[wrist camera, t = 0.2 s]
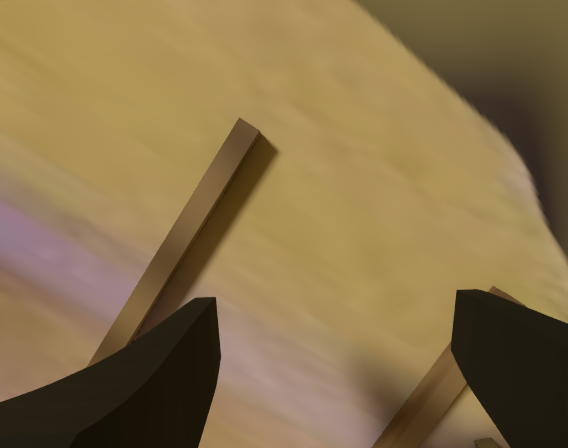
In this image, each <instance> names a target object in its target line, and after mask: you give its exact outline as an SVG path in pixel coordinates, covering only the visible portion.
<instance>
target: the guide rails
mask: <svg viewBox="0 0 568 448" xmlns="http://www.w3.org/2000/svg"><path fill="white" fill-rule="evenodd" d="M260 135H261V132H260V131H259V130H258V129H256V128H255V127H253V126H252V125H250V124H249V123H247V122H246V121H244V120H243V119H241V118H239V119H238V121H237V122H236V124H235V125H234V127H233V129H232V130H231V132H230V134H229V135H228V137H227V138H226V140H225V142H224V143H223V145H222V147H221V148H220V150H219V152H218V153H217V155H216V156H215V158H214V160H213V161H212V163H211V165H210V166H209V168H208V170H207V171H206V173H205V174H204V176H203V178H202V179H201V181H200V183H199V184H198V186H197V188H196V189H195V191H194V192H193V194H192V196H191V197H190V199H189V201H188V202H187V204H186V206H185V207H184V209H183V210H182V212H181V214H180V215H179V217H178V219H177V220H176V222H175V224H174V225H173V227H172V228H171V230H170V232H169V233H168V235H167V237H166V238H165V240H164V242H163V243H162V245H161V246H160V248H159V250H158V251H157V253H156V255H155V256H154V258H153V259H152V261H151V263H150V264H149V266H148V268H147V269H146V271H145V273H144V274H143V276H142V277H141V279H140V281H139V282H138V284H137V286H136V287H135V289H134V291H133V292H132V294H131V295H130V297H129V299H128V300H127V302H126V304H125V305H124V307H123V309H122V310H121V312H120V313H119V315H118V317H117V318H116V320H115V322H114V323H113V325H112V327H111V328H110V330H109V331H108V333H107V335H106V336H105V338H104V340H103V341H102V343H101V345H100V346H99V348H98V349H97V351H96V353H95V354H94V356H93V358H92V359H91V361H90V363H89V364H88V366H87V367H89V366H91V365H93V364H95V363H97V362H99V361H101V360H103V359H105V358H107V357H108V356H110V355H112V354H114V353H116V352H117V351H119V350H121V349H123V348H124V347H126V346H127V345H129V344H131V342H132V340H133V339H134V337H135V336H136V334H137V332H138V331H139V329H140V327H141V326H142V324H143V323H144V321H145V319H146V318H147V316H148V315H149V313H150V311H151V310H152V308H153V307H154V305H155V303H156V302H157V300H158V299H159V297H160V295H161V294H162V292H163V291H164V289H165V287H166V286H167V284H168V283H169V281H170V279H171V278H172V276H173V275H174V273H175V271H176V270H177V268H178V267H179V265H180V263H181V262H182V260H183V259H184V257H185V255H186V254H187V252H188V250H189V249H190V247H191V246H192V244H193V242H194V241H195V239H196V238H197V236H198V234H199V233H200V231H201V230H202V228H203V226H204V225H205V223H206V222H207V220H208V218H209V217H210V215H211V214H212V212H213V210H214V209H215V207H216V206H217V204H218V202H219V201H220V199H221V198H222V196H223V194H224V193H225V191H226V190H227V188H228V186H229V185H230V183H231V181H232V180H233V178H234V177H235V175H236V173H237V172H238V170H239V169H240V167H241V165H242V164H243V162H244V161H245V159H246V157H247V156H248V154H249V153H250V151H251V149H252V148H253V146H254V145H255V143H256V141H257V140H258V138H259V137H260ZM489 293H492V294H494V295H497V296H500V297H502V298H505V299H507V300H510V301H512V302H515V303H517V304H520V305H522V306H525V305H524V304H522V303H521V302H519V301H518V300H516V299H514V298H513V297H511V296H510V295H508V294H507V293H505V292H503V291H501V290H499V289H498V288H496V287H494V286H493V287H492V288H491V289H490V291H489ZM525 307H526V306H525ZM87 367H86V368H87ZM466 383H467V382H466V381H465V379H464V377H463V375H462V373H461V371H460V369H459V367H458V365H457V363H456V361H455V359H454V356H453V354H452V352H451V343H450V344H449V345H448V347H447V348H446V349H445V351H444V352H443V353H442V355H441V356H440V357H439V359H438V360H437V361H436V363H435V364H434V365H433V367H432V368H431V369H430V371H429V372H428V373H427V375H426V376H425V377H424V379H423V380H422V381H421V383H420V384H419V385H418V387H417V388H416V389H415V391H414V392H413V393H412V395H411V396H410V397H409V399H408V400H407V401H406V403H405V404H404V405H403V407H402V408H401V409H400V411H399V412H398V413H397V415H396V416H395V417H394V419H393V420H392V421H391V423H390V424H389V425H388V427H387V428H386V429H385V431H384V432H383V433H382V435H381V436H380V437H379V439H378V440H377V441H376V443H375V444H374V445H373V447H372V448H417V447H418V446H419V444H420V443H421V442H422V441H423V439H424V438H425V437H426V435H427V434H428V433H429V431H430V430H431V429H432V428H433V426H434V425H435V424H436V422H437V421H438V420H439V418H440V417H441V416H442V415H443V413H444V412H445V411H446V409H447V408H448V407H449V405H450V404H451V403H452V402H453V400H454V399H455V398H456V396H457V395H458V394H459V392H460V391H461V390H462V389H463V387H464V386H465V385H466Z"/></svg>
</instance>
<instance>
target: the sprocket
mask: <svg viewBox="0 0 568 448" xmlns="http://www.w3.org/2000/svg"><path fill="white" fill-rule="evenodd" d="M474 442H475V448H498V446H497V445H496V444H495V443H494V441H493V440H492V439H491V438H487V439H482V440H477V441H474Z"/></svg>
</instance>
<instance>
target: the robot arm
mask: <svg viewBox="0 0 568 448" xmlns="http://www.w3.org/2000/svg"><path fill="white" fill-rule="evenodd" d="M451 352H452V354H453V356H454V359H455V361H456V363H457V365H458V367H459V369H460V371H461V373H462V375H463V377H464V379H465V381H466V382H467V384H468V385H469V387H470V388H471V390H472V391H473V393H474V394H475V396H476V397H477V399H478V400H479V402H480V403H481V405H482V406H483V408H484V409H485V411H486V412H487V414H488V415H489V416H490V418H491V419H492V421H493V422H494V424H495V425H496V427H497V428H498V430H499V431H500V433H501V434H502V436H503V437H504V438H505V440H506V441H507V443H508V444H509V446H510V447H511V448H568V323H565V322H562V321H560V320H557V319H555V318H552V317H549V316H547V315H544V314H542V313H539V312H537V311H535V310H532V309H530V308H527V307H525V306H522V305H520V304H517V303H515V302H512V301H510V300H507V299H505V298H502V297H500V296H497V295H494V294H492V293H489V292H485V291H482V290H478V289H473V290H457V292H456V302H455V312H454V321H453V331H452V340H451ZM220 360H221V351H220V339H219V328H218V317H217V305H216V297H202V298H194V299H193V300H191V301H190V302H188V303H187V304H185V305H184V306H183V307H181V308H180V309H179V310H177V311H176V312H175V313H173V314H172V315H171V316H169V317H168V318H167V319H165V320H164V321H163V322H161V323H160V324H159V325H157V326H156V327H155V328H153V329H152V330H150V331H149V332H147V333H146V334H144V335H143V336H141V337H140V338H138V339H137V340H135V341H134V342H132V343H131V344H129V345H127V346H126V347H124V348H123V349H121V350H119V351H117V352H116V353H114V354H112V355H110V356H108V357H107V358H105V359H103V360H101V361H99V362H97V363H95V364H93V365H91V366H89V367H87V368H85V369H83V370H80V371H78V372H76V373H74V374H72V375H69V376H67V377H65V378H63V379H61V380H58V381H56V382H54V383H51V384H49V385H46V386H44V387H41V388H39V389H36V390H34V391H31V392H28V393H25V394H23V395H20V396H17V397H14V398H11V399H9V400H6V401H3V402H0V448H198V446H199V443H200V439H201V436H202V433H203V430H204V426H205V423H206V420H207V416H208V413H209V410H210V406H211V403H212V399H213V396H214V393H215V389H216V385H217V379H218V373H219V367H220Z"/></svg>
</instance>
